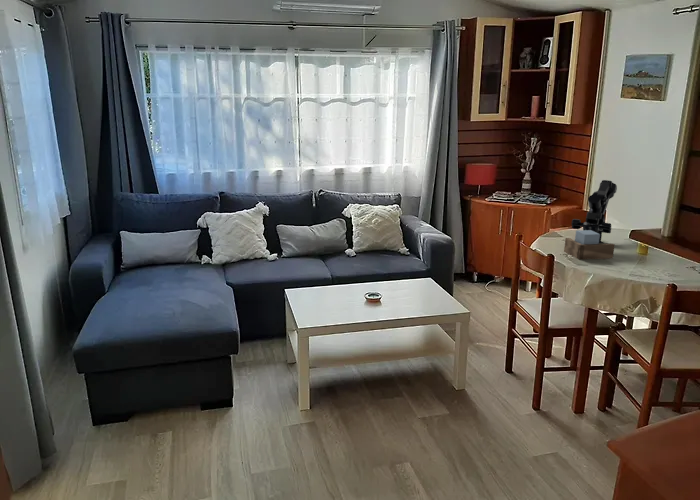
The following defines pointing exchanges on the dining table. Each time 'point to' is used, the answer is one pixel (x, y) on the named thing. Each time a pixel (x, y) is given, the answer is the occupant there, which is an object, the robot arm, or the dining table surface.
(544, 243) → the dining table surface
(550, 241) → the dining table surface
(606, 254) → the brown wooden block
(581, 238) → the slate block
